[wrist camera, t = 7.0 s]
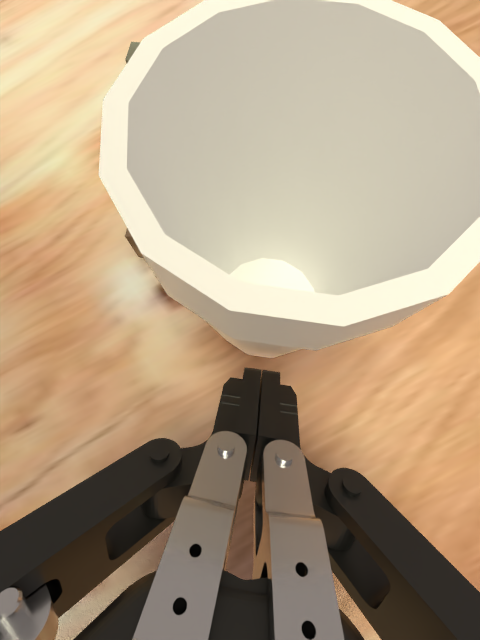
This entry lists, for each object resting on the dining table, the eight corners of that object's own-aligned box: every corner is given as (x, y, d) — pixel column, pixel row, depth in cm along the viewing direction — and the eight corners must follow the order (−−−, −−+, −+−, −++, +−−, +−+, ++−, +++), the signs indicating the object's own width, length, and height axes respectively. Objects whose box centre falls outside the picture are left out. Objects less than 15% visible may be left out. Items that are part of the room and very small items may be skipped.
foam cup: (348, 250, 21) (509, 1, 8) (338, 395, 18) (552, 356, 6) (203, 231, 21) (148, -31, 9) (175, 370, 19) (38, 283, 6)
